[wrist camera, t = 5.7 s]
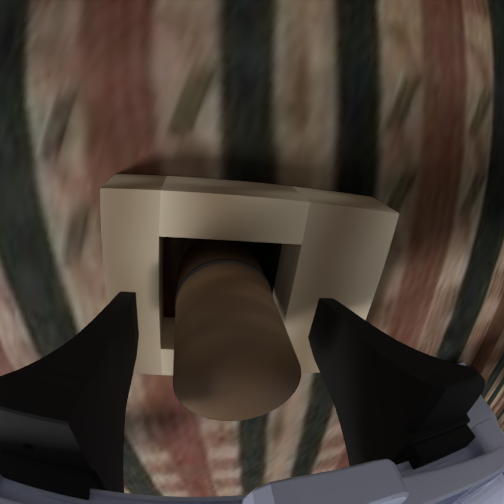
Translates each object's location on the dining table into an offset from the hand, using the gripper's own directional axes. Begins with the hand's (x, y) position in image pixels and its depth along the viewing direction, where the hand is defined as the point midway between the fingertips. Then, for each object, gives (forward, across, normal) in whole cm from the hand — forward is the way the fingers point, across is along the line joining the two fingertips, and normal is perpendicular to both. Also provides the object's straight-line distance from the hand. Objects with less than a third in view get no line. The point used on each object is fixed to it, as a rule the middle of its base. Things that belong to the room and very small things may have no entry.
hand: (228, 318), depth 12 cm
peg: (+4, 0, 0) cm, 4 cm away
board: (+4, -1, 0) cm, 4 cm away
